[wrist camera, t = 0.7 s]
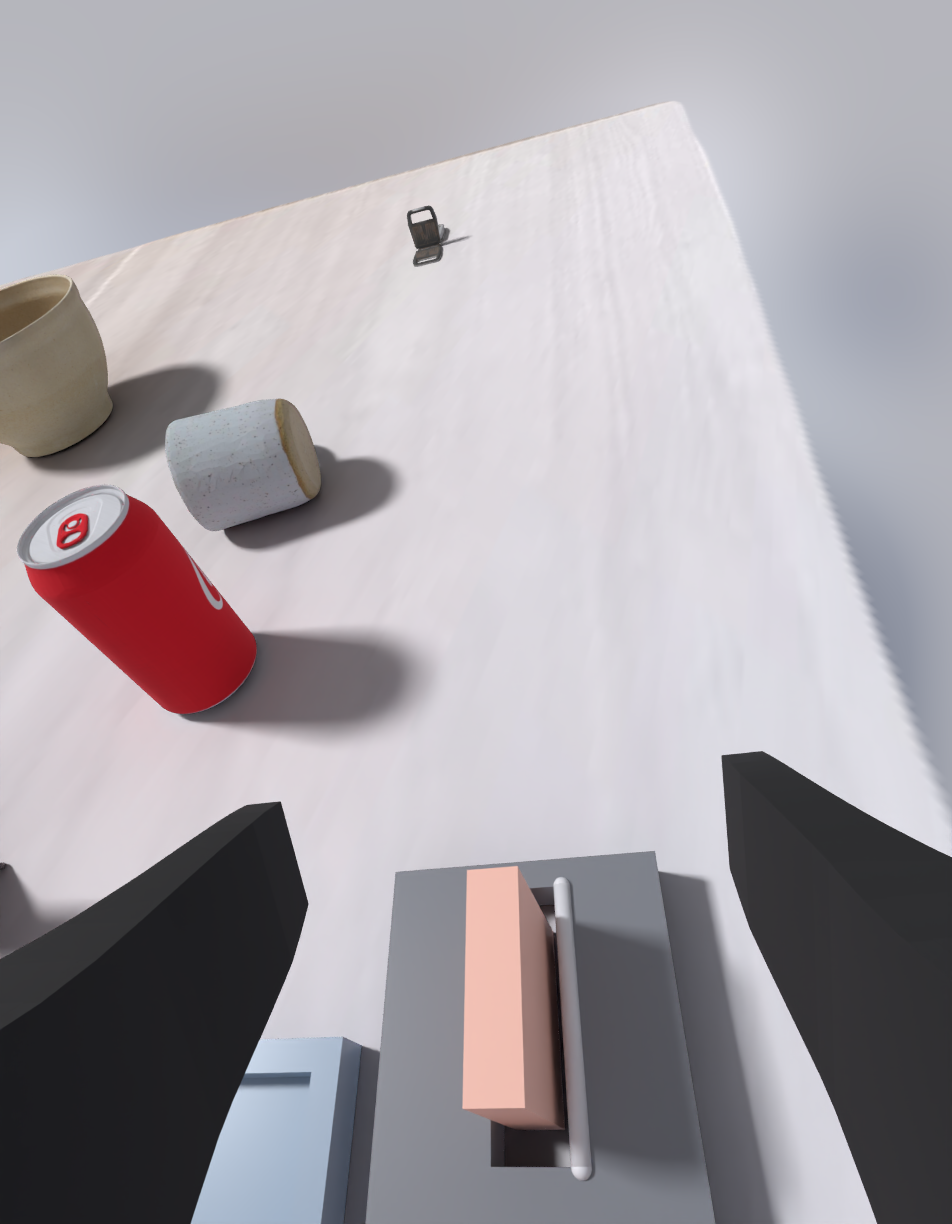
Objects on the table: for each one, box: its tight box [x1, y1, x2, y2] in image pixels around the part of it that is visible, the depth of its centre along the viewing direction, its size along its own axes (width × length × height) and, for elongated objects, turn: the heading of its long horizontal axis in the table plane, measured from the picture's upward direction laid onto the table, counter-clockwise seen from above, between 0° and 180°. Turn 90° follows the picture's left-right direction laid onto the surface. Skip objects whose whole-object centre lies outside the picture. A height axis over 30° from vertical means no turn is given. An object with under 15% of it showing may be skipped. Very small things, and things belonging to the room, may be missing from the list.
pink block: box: [462, 866, 565, 1130], centre depth 22 cm, size 6×2×7 cm, turn 179°
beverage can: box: [17, 485, 257, 714], centre depth 35 cm, size 6×6×12 cm
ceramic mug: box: [165, 399, 321, 531], centre depth 47 cm, size 11×8×8 cm
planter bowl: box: [0, 274, 113, 457], centre depth 62 cm, size 16×16×11 cm
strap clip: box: [407, 206, 445, 267], centre depth 71 cm, size 8×3×4 cm, turn 178°
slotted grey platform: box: [365, 851, 715, 1224], centre depth 20 cm, size 18×10×5 cm, turn 179°
